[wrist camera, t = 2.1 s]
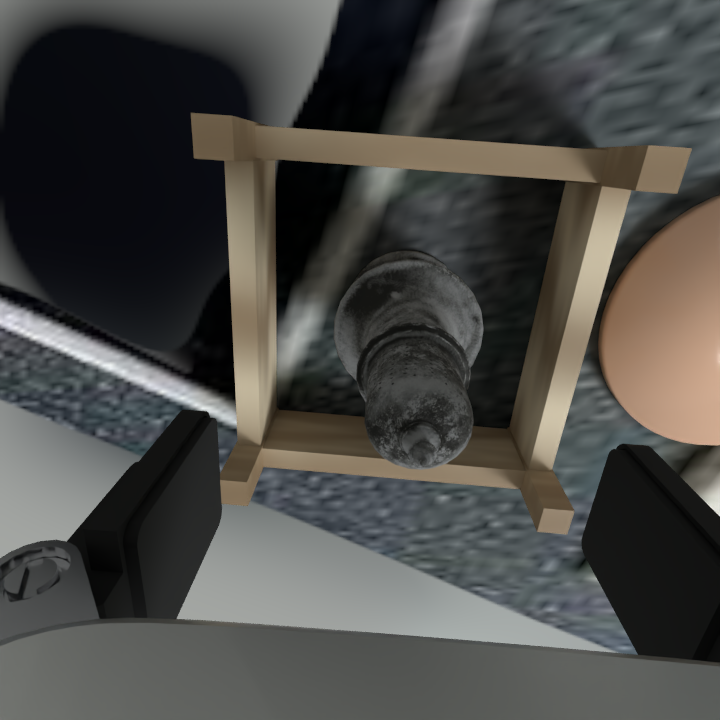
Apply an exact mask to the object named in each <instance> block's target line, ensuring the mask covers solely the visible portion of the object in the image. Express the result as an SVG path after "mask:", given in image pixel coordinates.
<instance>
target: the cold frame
mask: <svg viewBox="0 0 720 720" xmlns="http://www.w3.org/2000/svg"><path fill="white" fill-rule="evenodd" d="M191 123H192V136H193V150H194V151H193V152H194V158H196V159H209V160H223V161H225V162H224V163H225V183H226V202H227V203H226V204H227V225H228V246H229V267H230V288H231V309H232V330H233V351H234V372H235V393H236V414H237V435H238V441H237V443H236V445H235V447H234V449H233V451H232V452H231V454H230V456H229V458H228V460H227V462H226V464H225V466H224V468H223V470H222V471H221V473H220V486H221V504H231V505H243V506H248V504H249V502H250V499H251V497H252V494H253V492H254V489H255V487H256V484H257V482H258V479H259V477H260V474H261V472H262V469H263V467H272V468H283V469H295V470H306V471H318V472H329V473H341V474H352V475H364V476H375V477H387V478H398V479H410V480H421V481H433V482H444V483H456V484H467V485H479V486H490V487H502V488H513V489H520V490H521V493H522V495H523V498H524V500H525V503H526V505H527V508H528V510H529V513H530V515H531V518H532V520H533V523H534V525H535V528H536V530H537V532H547V533H558V534H567V533H568V530H569V527H570V524H571V520H572V517H573V514H574V509H573V507H572V505H571V504H570V502H569V500H568V498H567V496H566V494H565V492H564V490H563V489H562V487H561V485H560V483H559V481H558V479H557V477H556V475H555V474H554V472H553V470H552V467H553V463H554V460H555V456H556V453H557V449H558V446H559V442H560V439H561V435H562V432H563V428H564V425H565V421H566V418H567V414H568V411H569V407H570V404H571V400H572V397H573V393H574V390H575V386H576V383H577V379H578V376H579V372H580V369H581V365H582V362H583V358H584V355H585V351H586V348H587V344H588V341H589V337H590V334H591V330H592V327H593V323H594V319H595V316H596V312H597V309H598V305H599V302H600V298H601V295H602V291H603V288H604V284H605V281H606V277H607V274H608V270H609V267H610V263H611V260H612V256H613V253H614V249H615V246H616V242H617V239H618V235H619V232H620V228H621V225H622V221H623V218H624V214H625V211H626V207H627V204H628V200H629V197H630V193H631V190H634V191H647V192H661V193H674V194H677V193H678V190H679V187H680V184H681V180H682V177H683V174H684V171H685V168H686V165H687V162H688V159H689V156H690V153H691V150H692V148H679V147H665V146H651V145H645V146H625V147H605V148H585V149H579V148H565V147H551V146H537V145H523V144H509V143H495V142H481V141H467V140H453V139H439V138H425V137H411V136H397V135H383V134H369V133H355V132H341V131H327V130H313V129H299V128H284V127H271V126H267V125H264V124H260V123H256V122H253V121H249V120H245V119H242V118H238V117H235V116H227V115H214V114H200V113H191ZM278 159H280V160H293V161H307V162H321V163H334V164H348V165H362V166H376V167H389V168H403V169H417V170H431V171H444V172H458V173H472V174H486V175H499V176H513V177H527V178H541V179H554V180H563V181H565V187H564V191H563V195H562V200H561V204H560V209H559V213H558V217H557V222H556V226H555V230H554V235H553V239H552V243H551V248H550V252H549V256H548V261H547V265H546V270H545V274H544V278H543V283H542V287H541V291H540V296H539V300H538V304H537V309H536V313H535V317H534V322H533V326H532V331H531V335H530V339H529V344H528V348H527V352H526V357H525V361H524V365H523V370H522V374H521V378H520V383H519V387H518V392H517V396H516V400H515V405H514V409H513V413H512V418H511V422H510V426H509V427H507V429H502V428H490V427H478V426H473V428H472V434H471V438H470V440H469V442H468V444H467V446H466V447H465V448H464V450H463V451H462V452H461V453H460V454H459V455H458V456H457V457H455V458H454V459H452V460H451V461H449V462H448V463H446V464H444V465H441V466H438V467H435V468H431V469H423V470H418V469H408V468H405V467H401V466H398V465H395V464H393V463H391V462H390V461H388V460H386V459H384V458H383V457H382V456H381V455H380V454H379V453H378V452H377V451H376V450H375V449H374V447H373V445H372V444H371V442H370V440H369V438H368V435H367V431H366V427H365V417H359V416H347V415H336V414H324V413H312V412H300V411H288V410H279V408H277V349H276V208H275V161H277V160H278Z"/></svg>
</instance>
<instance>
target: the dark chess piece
mask: <svg viewBox="0 0 720 720" xmlns="http://www.w3.org/2000/svg"><path fill="white" fill-rule="evenodd" d="M482 336H483V321H482V312H481V309H480V307H479V305H478V302H477V300H476V298H475V295H474V293H473V292H472V291H471V290H470V288H469V287H468V286H467V285H466V283H465V282H464V281H463V280H462V279H461V278H460V277H459V276H457V275H456V274H454V273H453V272H451V271H450V270H449V269H448V268H447V267H446V266H445V265H444V264H443V263H441V262H440V261H439V260H437V259H436V258H434V257H433V256H430V255H427V254H424V253H421V252H418V251H406V250H401V251H396V252H391V253H386V254H384V255H382V256H380V257H378V258H376V259H374V260H373V261H371V262H370V263H369V264H368V265H367V266H366V267H365V268H364V269H362V270H361V272H360V273H359V275H358V276H357V278H356V279H355V281H354V282H353V284H352V285H351V286H350V288H349V289H348V291H347V292H346V294H345V295H344V297H343V298H342V300H341V301H340V304H339V307H338V311H337V314H336V317H335V320H334V341H335V345H336V349H337V353H338V356H339V358H340V360H341V362H342V363H343V365H344V367H345V369H346V370H347V372H348V373H349V374H350V375H351V376H352V377H353V378H354V379H355V380H356V381H357V384H358V388H359V392H360V394H361V395H362V397H363V399H364V400H365V402H366V407H365V427H366V431H367V435H368V438H369V440H370V442H371V444H372V445H373V447H374V449H375V450H376V451H377V452H378V453H379V454H380V455H381V456H382V457H383V458H384V459H386V460H388V461H390V462H391V463H393V464H395V465H398V466H401V467H405V468H408V469H418V470H423V469H431V468H435V467H438V466H441V465H444V464H446V463H448V462H449V461H451V460H452V459H454V458H455V457H457V456H458V455H459V454H460V453H461V452H462V451H463V450H464V448H465V447H466V446H467V444H468V442H469V440H470V438H471V434H472V428H473V420H474V419H473V412H472V406H471V403H470V401H469V398H468V395H467V389H468V387H469V382H470V376H471V371H470V367H471V366H472V365H473V363H474V361H475V359H476V357H477V355H478V352H479V350H480V348H481V342H482Z"/></svg>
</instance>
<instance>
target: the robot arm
mask: <svg viewBox="0 0 720 720" xmlns="http://www.w3.org/2000/svg"><path fill="white" fill-rule="evenodd" d="M221 513H222V505H221V486H220V468H219V450H218V432H217V421H216V419H215V418H210V416H209V413H208V412H207V411H194V410H182V411H181V412H180V413H179V414H178V415H177V416H176V418H175V419H174V420H173V421H172V422H171V424H170V425H169V426H168V427H167V428H166V430H165V431H164V432H163V433H162V434H161V436H160V437H159V438H158V439H157V440H156V442H155V443H154V444H153V445H152V446H151V448H150V449H149V450H148V451H147V452H146V454H145V455H144V456H143V457H142V458H141V460H140V461H139V462H135V463H134V464H133V465H132V466H131V467H130V468H129V469H128V470H127V471H126V472H125V473H124V475H123V476H122V477H121V478H120V479H119V481H118V482H117V483H116V484H115V485H114V487H113V488H112V489H111V490H110V491H109V492H108V493H107V495H106V496H105V497H104V498H103V499H102V501H101V502H100V503H99V504H98V505H97V507H96V508H95V509H94V510H93V511H92V513H91V514H90V515H89V516H88V517H87V518H86V520H85V521H84V522H83V523H82V524H81V525H80V527H79V528H78V529H77V530H76V531H75V532H74V534H73V535H72V536H71V537H70V538H69V540H68V541H67V542H66V541H60V540H49V541H40V542H36V543H32V544H28V545H25V546H23V547H21V548H19V549H16V550H14V551H11V552H10V553H8V554H6V555H5V556H3V557H2V558H0V720H720V517H719V516H718V515H717V514H716V513H715V512H714V511H713V510H712V509H711V508H710V507H709V505H708V504H707V503H706V502H705V501H704V500H703V499H702V498H701V497H700V496H699V495H698V494H697V493H696V492H695V491H694V490H693V489H692V488H691V487H690V486H689V485H688V484H687V483H686V482H685V481H684V480H683V479H682V478H681V477H680V476H679V475H678V474H677V473H676V472H675V471H674V470H673V469H672V468H671V467H670V466H669V465H668V464H667V463H666V462H665V461H664V460H663V459H662V458H661V457H660V456H659V455H658V454H657V453H656V452H655V451H654V450H653V449H652V448H650V447H649V446H644V445H631V444H621V445H619V446H618V447H617V448H616V449H613V450H611V451H610V453H609V455H608V458H607V461H606V464H605V467H604V470H603V474H602V477H601V480H600V483H599V486H598V489H597V492H596V496H595V499H594V502H593V505H592V508H591V511H590V514H589V518H588V521H587V524H586V527H585V530H584V533H583V537H582V550H583V553H584V555H585V557H586V559H587V561H588V563H589V565H590V566H591V568H592V570H593V572H594V574H595V576H596V578H597V579H598V581H599V583H600V585H601V587H602V589H603V590H604V592H605V594H606V596H607V598H608V600H609V602H610V603H611V605H612V607H613V609H614V611H615V613H616V615H617V616H618V618H619V620H620V622H621V624H622V626H623V628H624V629H625V631H626V633H627V635H628V637H629V639H630V640H631V642H632V644H633V646H634V648H635V650H636V652H637V653H638V655H633V654H622V653H610V652H599V651H587V650H576V649H564V648H553V647H541V646H530V645H518V644H505V643H493V642H481V641H469V640H458V639H444V638H432V637H420V636H408V635H395V634H383V633H370V632H356V631H344V630H330V629H316V628H304V627H291V626H278V625H263V624H251V623H235V622H219V621H206V620H185V619H176V618H177V616H178V614H179V612H180V609H181V607H182V604H183V603H184V601H185V598H186V596H187V594H188V592H189V590H190V587H191V585H192V583H193V581H194V579H195V576H196V574H197V572H198V570H199V568H200V565H201V563H202V561H203V559H204V556H205V554H206V552H207V550H208V548H209V546H210V543H211V541H212V539H213V537H214V535H215V532H216V530H217V528H218V526H219V523H220V519H221Z"/></svg>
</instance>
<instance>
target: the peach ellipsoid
mask: <svg viewBox="0 0 720 720" xmlns="http://www.w3.org/2000/svg"><path fill="white" fill-rule="evenodd" d="M598 351H599V361H600V366H601V370H602V374H603V376H604V379H605V381H606V384H607V386H608V388H609V389H610V391H611V393H612V394H613V396H614V397H615V399H616V400H617V401H618V402H619V403H620V404H621V406H622V407H623V408H624V409H625V410H626V411H627V412H628V413H629V414H630V415H631V416H632V417H633V418H634V419H635V420H637V421H638V422H639V423H640V424H641V425H643V426H644V427H646V428H648V429H649V430H651V431H653V432H655V433H657V434H659V435H662V436H664V437H666V438H669V439H673V440H676V441H680V442H684V443H691V444H698V445H720V195H718V196H715V197H712V198H710V199H708V200H706V201H704V202H702V203H700V204H698V205H696V206H694V207H692V208H691V209H689V210H687V211H686V212H684V213H683V214H681V215H680V216H678V217H676V218H675V219H673V220H672V221H671V222H670V223H668V224H667V225H666V226H664V227H663V228H662V229H661V230H659V231H658V232H657V233H656V234H655V235H654V236H653V237H652V238H651V239H650V240H649V241H648V242H647V243H645V244H644V245H643V246H642V247H641V249H640V250H639V251H638V252H637V253H636V255H635V256H634V257H633V258H632V259H631V261H630V262H629V263H628V264H627V266H626V267H625V269H624V270H623V272H622V273H621V275H620V276H619V278H618V279H617V281H616V283H615V285H614V287H613V289H612V291H611V293H610V295H609V297H608V300H607V303H606V306H605V308H604V311H603V315H602V319H601V324H600V328H599V339H598Z"/></svg>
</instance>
